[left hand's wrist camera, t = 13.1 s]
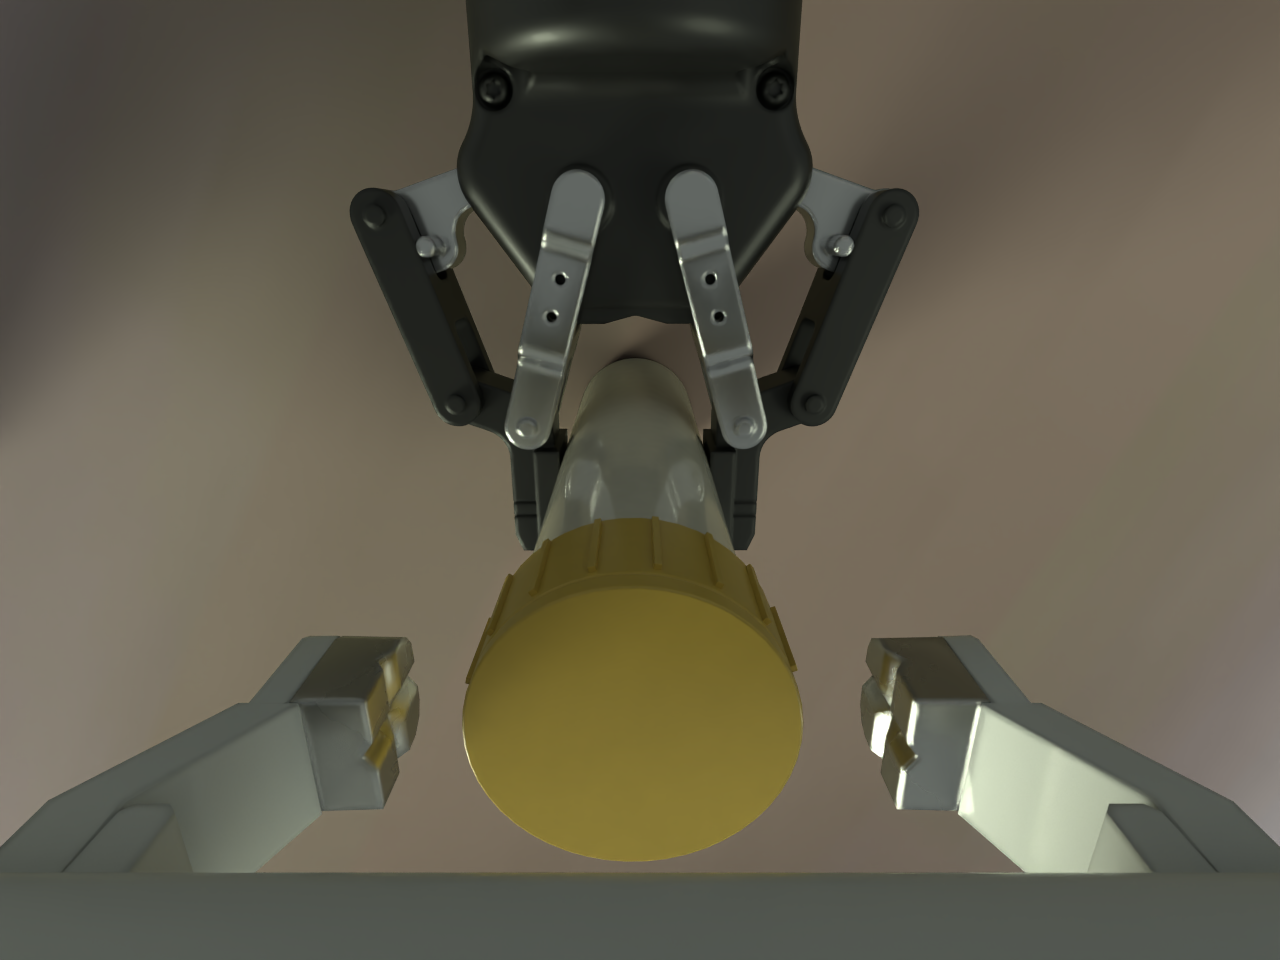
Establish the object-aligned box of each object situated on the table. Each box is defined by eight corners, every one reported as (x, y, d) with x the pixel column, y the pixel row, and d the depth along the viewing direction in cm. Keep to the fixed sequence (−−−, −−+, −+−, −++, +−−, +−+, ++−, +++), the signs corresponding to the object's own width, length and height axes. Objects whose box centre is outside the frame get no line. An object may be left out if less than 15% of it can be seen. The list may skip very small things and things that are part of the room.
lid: (796, 518, 10) (835, 589, 8) (761, 763, 12) (786, 871, 10) (486, 504, 10) (449, 572, 8) (494, 753, 12) (465, 861, 10)
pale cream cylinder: (694, 360, 25) (794, 594, 9) (686, 466, 26) (759, 828, 10) (581, 355, 25) (485, 582, 9) (579, 461, 26) (492, 818, 10)
